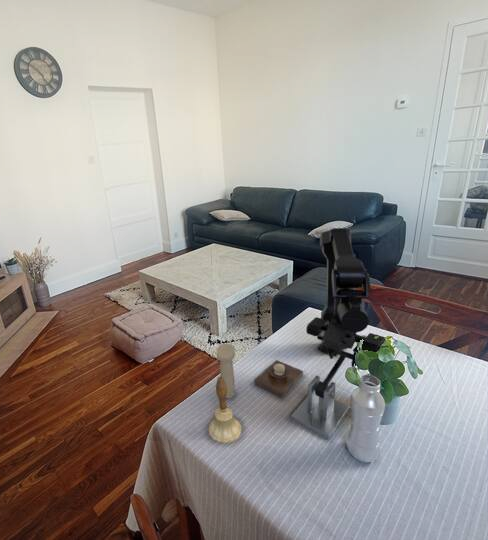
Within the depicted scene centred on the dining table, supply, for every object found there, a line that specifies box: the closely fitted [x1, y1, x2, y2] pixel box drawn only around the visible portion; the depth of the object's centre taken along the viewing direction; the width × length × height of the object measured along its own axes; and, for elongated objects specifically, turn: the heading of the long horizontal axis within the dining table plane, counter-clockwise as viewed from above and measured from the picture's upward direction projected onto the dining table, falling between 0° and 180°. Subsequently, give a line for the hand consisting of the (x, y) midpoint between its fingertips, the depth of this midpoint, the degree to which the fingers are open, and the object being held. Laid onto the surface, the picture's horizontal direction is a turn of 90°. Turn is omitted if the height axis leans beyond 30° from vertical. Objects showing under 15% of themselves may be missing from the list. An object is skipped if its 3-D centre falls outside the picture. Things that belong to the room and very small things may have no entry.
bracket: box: [290, 375, 350, 440], centre depth 84 cm, size 12×10×10 cm
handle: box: [216, 343, 236, 399], centre depth 93 cm, size 5×6×15 cm
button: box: [274, 364, 285, 375], centre depth 98 cm, size 3×3×2 cm
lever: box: [315, 350, 353, 399], centre depth 87 cm, size 16×5×2 cm, turn 136°
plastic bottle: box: [346, 374, 386, 463], centre depth 71 cm, size 6×7×20 cm
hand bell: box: [208, 376, 243, 444], centre depth 82 cm, size 8×8×16 cm
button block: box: [254, 359, 304, 399], centre depth 99 cm, size 12×9×4 cm
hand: (342, 362), depth 91 cm, fingers open, 5 cm apart
